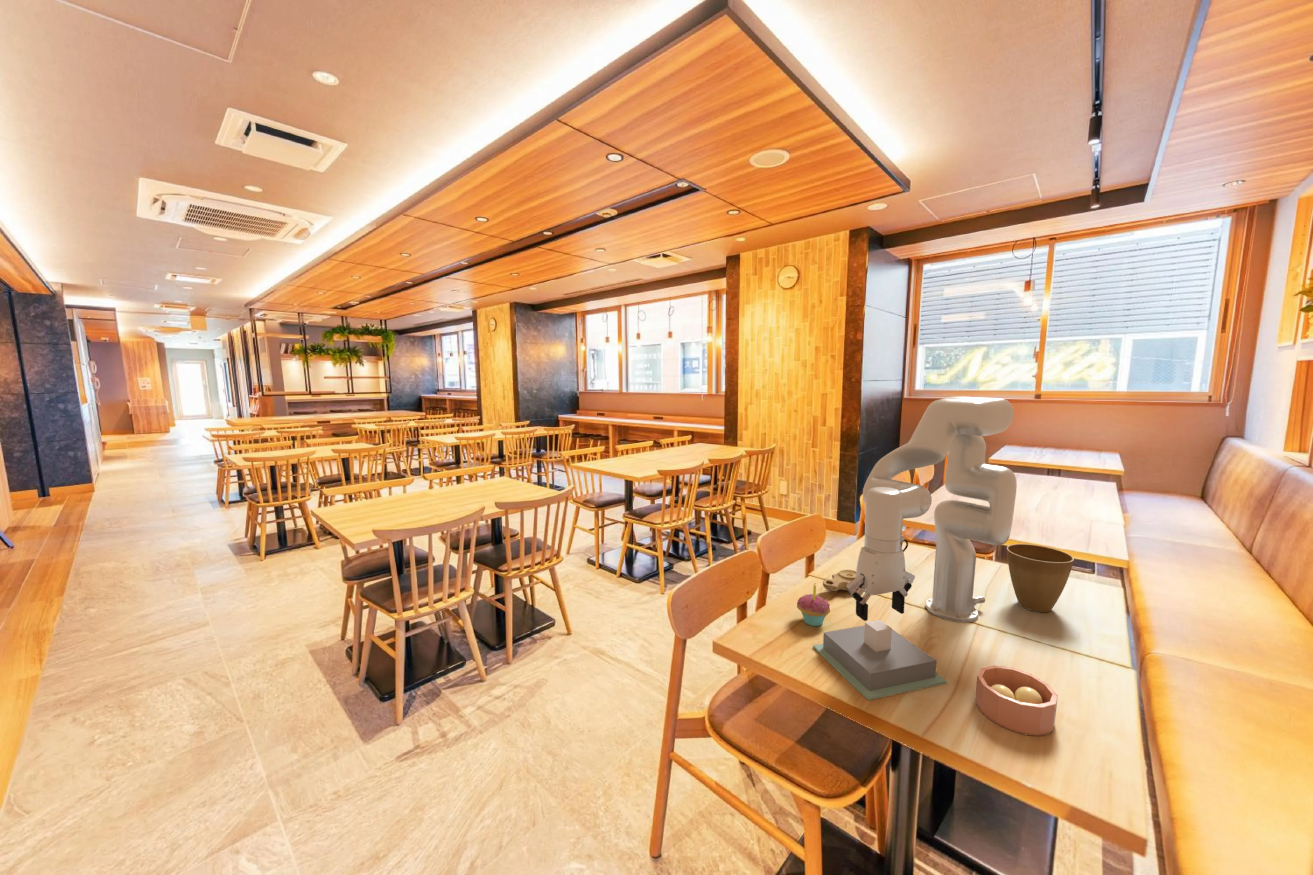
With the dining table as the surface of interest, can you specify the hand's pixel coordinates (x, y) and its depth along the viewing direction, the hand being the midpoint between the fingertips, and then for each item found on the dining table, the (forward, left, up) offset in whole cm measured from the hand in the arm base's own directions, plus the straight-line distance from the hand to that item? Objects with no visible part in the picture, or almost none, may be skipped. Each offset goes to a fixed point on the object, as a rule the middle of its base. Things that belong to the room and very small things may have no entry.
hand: (879, 614), depth 112 cm
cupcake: (+4, -21, -12) cm, 24 cm away
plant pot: (-61, -11, -12) cm, 64 cm away
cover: (0, 0, -12) cm, 12 cm away
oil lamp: (-16, -35, -12) cm, 40 cm away
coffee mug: (-43, -46, -12) cm, 64 cm away
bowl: (-14, +21, -12) cm, 28 cm away
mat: (+1, 0, -12) cm, 12 cm away
